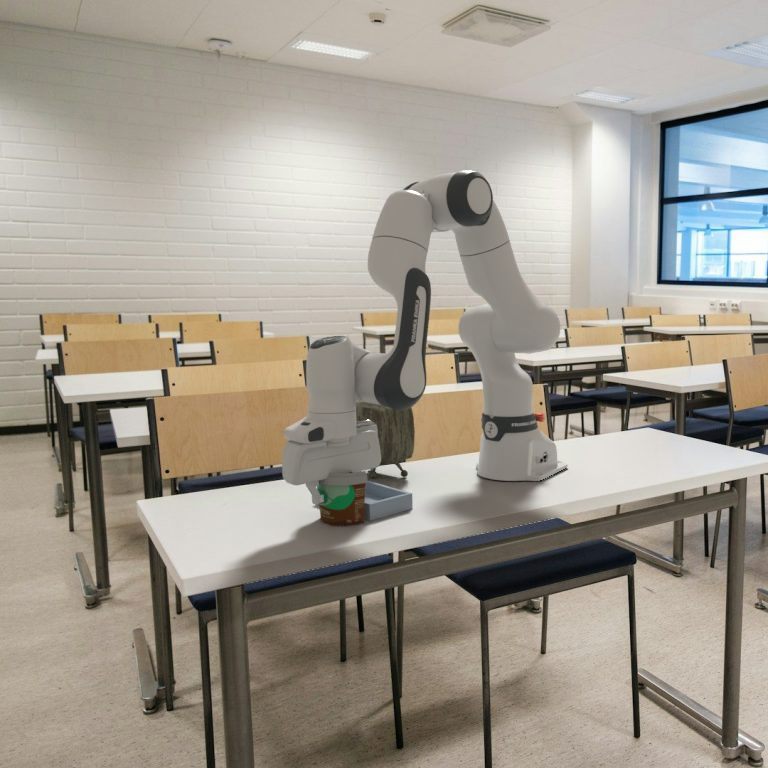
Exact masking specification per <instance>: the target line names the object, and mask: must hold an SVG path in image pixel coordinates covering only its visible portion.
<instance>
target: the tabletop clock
mask: <svg viewBox="0 0 768 768" xmlns="http://www.w3.org/2000/svg"><path fill="white" fill-rule="evenodd" d="M365 420H371V421H372V422H374V423H375V424H376V425H377V428H378V439H379V445H380V452H381V463H380V465H379V466H385V465H390V464H393V465H395V466H396V468H398V469H399V471H400V476H401V477H403V478H406V477H408V473H409V472H408V471H407V470H405V469H403V467H402V465H401V463H400V462H401V461H405V460H408V459H411V458H413V455H414V450H415V433H416V432H415V418H414V412H413V408H412V407H411V408H409V409H407V410H395V409H392V408H388V407H385V406H383V405H376V404H370V403H366V402H361V401H357V402H356V422H358V421H365ZM371 425H373V424H371ZM369 470H371V472H369V473H370V474H369V476H370V477H371V478H372V479H375V478H376V477H377V476H378V472H377V471H376V470H377V468H373V469H369Z"/></svg>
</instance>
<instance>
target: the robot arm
mask: <svg viewBox="0 0 768 768" xmlns="http://www.w3.org/2000/svg"><path fill="white" fill-rule="evenodd" d="M450 230H451V231H452V232H453V233H454V238H455V242H456V246H457V250H458V254H459V257H460V260H461V263H462V268H463V271H464V274H465V278H466V280H467V284H468V286H469V288H470V289H471V290H472V291H473V292H474V293H475V294H477V295H478V296H479V297H481V298H482V299H484V300H485V301H486V304H485V303H483V304H481V305H477V306H474V307H469V308H467V310H465V311H464V312H463V313H462V314H461V316H460V318H459V319H460V320H459V322H458V335H459V337H460V340H461V341H462V343H463V344H464V346H466V347H467V348H468V349H469V350H470V351H471V354H472V355H473V357H474V359H475V361H476V364H477V367H478V370H479V372H480V377H481V383H482V396H483V397H482V399H483V412H482V413H481V419H480V421H481V422H480V423H481V429H482V430H483V431H482V434H481V436H480V443H479V444H480V445H479V455H478V462H476V466H475V467H476V469H477V470H476V474H477V475H478V476H479V477H481V478H484V479H489V480H495V481H504V482H505V481H506V482H509V481H510V482H518V481H519V482H520V481H521V482H522V481H529V482H530V481H531V482H541V481H540V480H542V481H544V480H546V479H548V478H550V477H552V476H554V475H553V474H555V473H557V472H559V471H561V470H563V469H565V468H567V467H569V466H568V463H566V462H563V461H561V460H558V449H557V446H556V443H555V442H554V441H553V440H552V439H550V437H548V436H547V435H546V434H544V432H543V431H541V430H540V429H539V424H538V422H539V423H543V422H545V419H546V417H545V416H546V415H545V413H541V412H535V413H534V412H533V405H534V403H533V381H532V378H531V375H530V374H528V373H527V372H526V371H525V370H524V369H523V368H521V366H520V365H519V363H518V361H517V360H518V359H517V358H516V354H529V355H530V354H536V353H541V352H545V351H549V350H551V349H552V348H553V347H554V346H555V345H556V343H557V342H558V339H559V338H560V335H561V334H560V333H561V323H560V319H559V316H558V314H557V313H556V311H555V310H554V309H553V308H552V307H550V306H549V305H547V304H545V303H544V302H543V301H542V300H541V299H539V297H538V296H536V294H534V292H533V291H532V290H531V289H530V287H529V286H528V284H527V283H526V282H525V280H524V278H523V276H522V274H521V272H520V270H519V266H518V264H517V260H516V258H515V254H514V251H513V247H512V243H511V240H510V237H509V233H508V229H507V227H506V224H505V222H504V219H503V217H502V214H501V212H500V210H499V208H498V206H497V204H496V202H495V200H494V196H493V191H492V187H491V185H490V183H489V182H488V180H487V178H485V176H484V175H483V174H481V173H480V172H478V171H474V170H459V171H457V172H449V173H448V172H447V173H441V174H436V175H434V176H432V177H430V178H427V179H424V180H420V181H415V182H412V183H410V184H409V185H406V186H405V187H404V188H403V189H402V190H397V191H395V192H393V193H391V194H390V195H389V196H388V197H387V199H386V200H385V203H384V205H383V207H382V209H381V211H380V213H379V216H378V219H377V222H376V224H375V228H374V231H373V234H372V238H371V243H370V245H369V246H370V247H369V251H368V255H367V256H368V257H367V271H368V273H369V276H370V277H371V279H372V281H373V282H374V283H375V284H376V285H377V287H379V288H380V289H382V290H383V291H385V292H387V293H389V294H390V295H392V296H393V298H394V299H395V302H396V306H397V307H396V308H397V313H396V321H395V331H394V339H393V345H392V346H393V347H392V348H391V350H390V351H389V352H388V353H383V352H382V353H381V352H376V351H374V352H373V351H370V350H367V349H365V348H363V347H361V346H359V345H357V344H356V343H355V342H353V341H352V340H351V338H350V337H348V336H347V335H346V336H345V335H332V336H326V337H322V338H319V339H316V340H314V341H313V342H312V343H310V345H309V347H308V350H307V354H306V355H307V356H306V364H305V365H306V367H305V369H306V373H305V374H306V375H305V376H306V378H305V379H306V390H307V392H308V393H307V394H308V397H309V399H308V400H309V401H308V405H307V416H305V417H303V418H301V419H300V420H298V421H297V422H295V423H293V424H291V425H289V426H287V427H286V428H285V429H283V436H284V439H285V440H287V442H286V443H285V444H284V446H283V449H282V455H281V456H282V457H281V465H282V466H281V469H282V470H281V473H282V478H283V480H284V481H285V483H287V484H289V485H293V486H300V485H305V487H306V488H307V490H308V491H309V494H310V495H311V503H312V504H313V505H316V506H317V505H318V506H319V504H322V503H324V494H321V493H319V492H318V490H317V487H318V486H319V480H324V479H327V477H328V476H329V473H338V474H341V473H349V472H353V473H356V472H362V471H367V470H370V469H373V468H376V469H377V468H379V466H381V465H380V463H381V452H380V445H379V439H378V428H377V425H376V424H375V423H374V422H372V421H371V420H365V421H358V422H356V402H357V401H361V402H366V403H370V404H376V405H383V406H385V407H388V408H392V409H395V410H407V409H409V408H412V407H414V406H415V405H416V404H417V403H418V402H419V401H420V400H421V398H422V397H423V395H424V393H425V391H426V387H427V367H426V366H427V365H426V364H427V363H426V352H427V351H426V350H427V343H428V333H429V324H430V323H429V322H430V312H431V300H432V286H431V281H430V278H429V276H428V275H427V272H426V271H427V270H426V262H427V255H428V251H429V246H430V241H431V234H432V233H443V232H448V231H450ZM371 424H373V425H371ZM567 469H568V468H567ZM565 470H566V469H565ZM563 471H564V470H563ZM561 472H562V471H561ZM559 473H560V472H559ZM557 474H558V473H557ZM551 475H552V476H551ZM555 475H556V474H555ZM549 476H550V477H549ZM547 477H548V478H547ZM545 478H546V479H545ZM543 479H544V480H543Z"/></svg>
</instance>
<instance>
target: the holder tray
mask: <svg viewBox="0 0 768 768" xmlns="http://www.w3.org/2000/svg"><path fill="white" fill-rule="evenodd" d="M413 507H414V506H413V492H410V491H406V490H402V489H398V488H395V487H392V486H388V485H385V484H382V483H378V482H374V481H371V480H368V482H367V483H365V504H364V520H367V521H370V522H371V521H374V520H378V519H383V518H386V517H390V516H393V515H395V514H398V513H403V512H406V511H409V510H413Z"/></svg>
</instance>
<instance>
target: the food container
mask: <svg viewBox="0 0 768 768" xmlns="http://www.w3.org/2000/svg"><path fill="white" fill-rule="evenodd" d="M366 472H367V470H364V471H362V472H356V473H353V472H349V473H341V474H338V473H329V476H328V477H327V479H324V480H319V486H318V487H316V488H317V490H318V492H319V493H321V494H324V503H322V504H319V505H318V506H319V514H320V521H321V523H323V524H324V525H328V526H332V527H353V526H354V527H355V526H358V525H362V524H364V523H365V519H364V504H365V483H367V482H368V481H369V479H368V475H367V473H366Z"/></svg>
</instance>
